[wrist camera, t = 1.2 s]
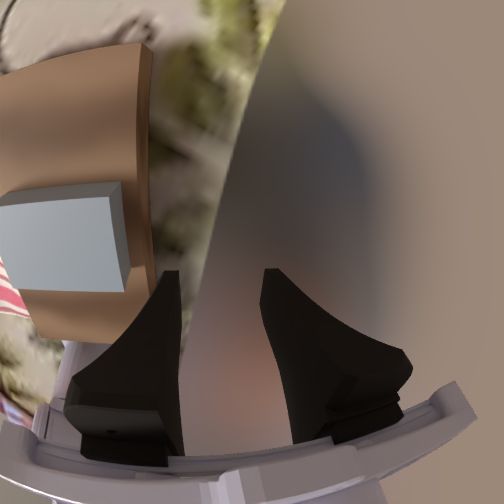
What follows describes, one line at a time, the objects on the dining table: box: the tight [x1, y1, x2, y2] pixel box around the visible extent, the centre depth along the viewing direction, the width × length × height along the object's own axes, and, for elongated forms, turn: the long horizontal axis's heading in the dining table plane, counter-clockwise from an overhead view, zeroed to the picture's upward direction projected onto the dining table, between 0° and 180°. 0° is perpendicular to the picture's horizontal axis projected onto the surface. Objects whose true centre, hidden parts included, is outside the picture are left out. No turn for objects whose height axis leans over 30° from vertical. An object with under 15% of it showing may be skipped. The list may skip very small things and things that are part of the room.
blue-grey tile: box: [0, 181, 131, 292], centre depth 14 cm, size 6×9×2 cm, turn 84°
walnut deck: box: [0, 42, 157, 344], centre depth 16 cm, size 22×12×4 cm, turn 174°
